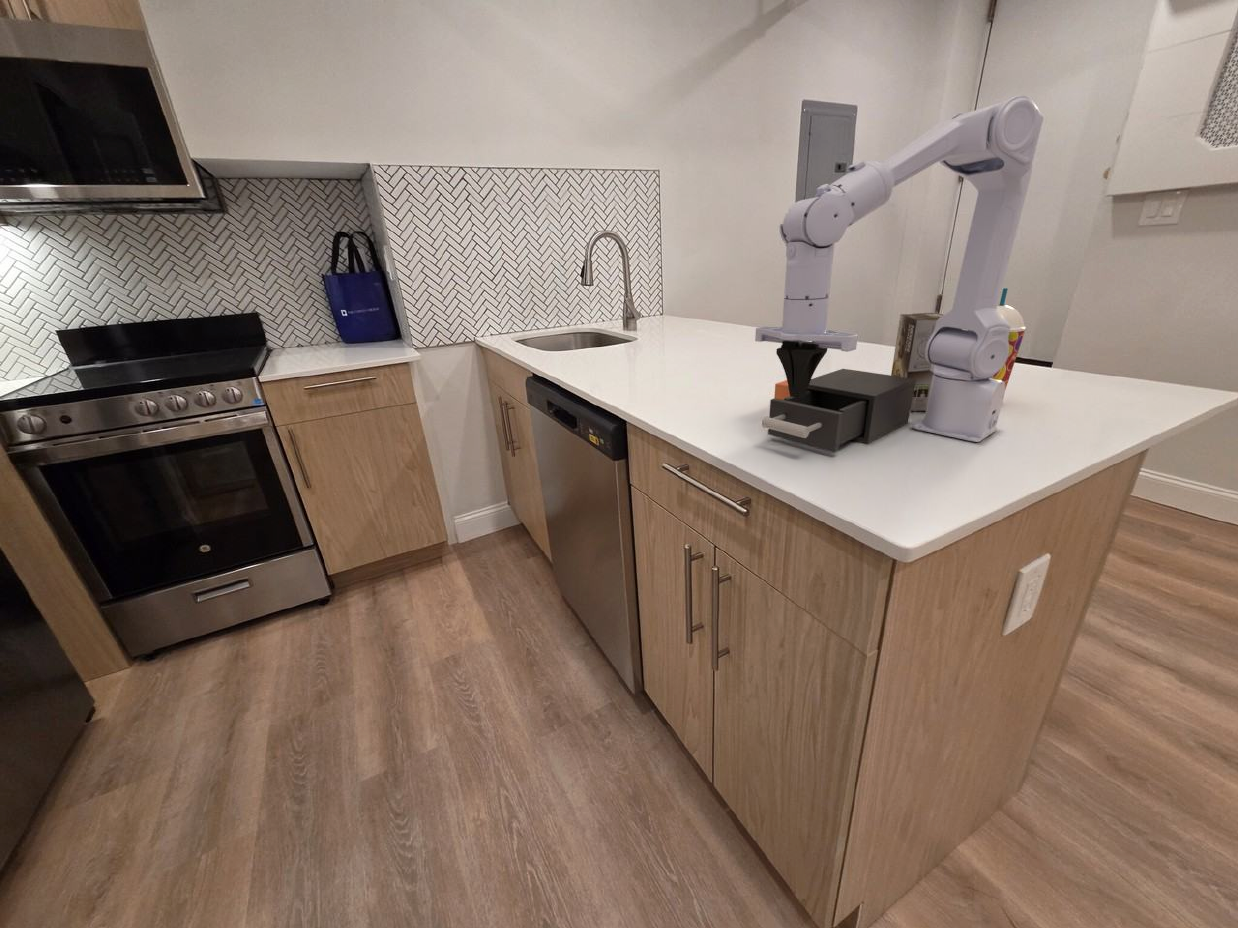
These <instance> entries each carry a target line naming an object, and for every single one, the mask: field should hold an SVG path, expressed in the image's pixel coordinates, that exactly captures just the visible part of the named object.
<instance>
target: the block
mask: <svg viewBox="0 0 1238 928" xmlns="http://www.w3.org/2000/svg"><path fill="white" fill-rule="evenodd" d="M773 397H774V398H776V399H781V400H784V398H787V397H790V393H789V387H788V382H787V379H786V380H783V381H780V382H777V383H775V385H774V396H773ZM774 398H773V399H774Z"/></svg>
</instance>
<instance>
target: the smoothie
mask: <svg viewBox="0 0 1238 928" xmlns="http://www.w3.org/2000/svg"><path fill="white" fill-rule="evenodd" d="M1007 295H1008V288H1007V287H1006V288H1005V287H1002V291H1001V295H1000V299H999V304H998V305H997V309H996V310H997V311H998V313H999V314H1000V315H1001V316H1002V317H1003V318H1004V319H1005V320H1006V321H1007V322H1008V323H1009V325H1010V326H1011V328H1010V331H1009V336H1008V342H1009V355H1008V358H1007V360H1006V362H1005V364H1004V365H1003V367H1002V368H1001V369H1000V370H999V371H998V372H997V373H996V374H994V376H993V378H992V379H995V380H1001V381H1004V382H1005V391H1007V386H1008V383H1009V380H1010V377H1011V375H1012V372H1013V368H1014V365H1015V363H1016V359H1017V356H1018V354H1019V351H1020V348H1021V344H1022V342H1023V339H1024V337H1025V336H1024V335H1025V331H1026V330H1027V326H1026V325H1025V319H1024V317H1023V316H1022V314H1021V313H1020V311H1019V310H1017V309H1016V308H1014V307H1012V306H1010V305H1006V304H1005V301H1006V298H1007ZM967 331H972V330H967ZM973 332H974V331H973Z"/></svg>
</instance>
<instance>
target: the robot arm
mask: <svg viewBox="0 0 1238 928" xmlns="http://www.w3.org/2000/svg"><path fill="white" fill-rule="evenodd" d="M1043 122H1044V116H1043V114H1042V113H1041V111H1040V110H1039V108H1038V106H1037V105H1036V103H1035V102H1034V100H1033V99H1032V98H1031V97H1030V96H1027V95H1023V94H1022V95H1015V96H1012V97H1010V98H1009V99H1006V100H1004V101H1001V102H997V103H994V104H991V105H987V106H985V107H981V108H978V109H975V110H971V111H969V112H964V113H957V114H955V115H952V116H951V117H950V118H948V119H947V120H944V121H942V122H939V123H937V124H935V125H934V126H933V127H932V128H930V129H929V130H927V131H926V132H925V133H923V134H921V135H920V136H919V137H917V138H915V139H914V140H913V141H911V142H910V143H909V144H907V145H906V146H904V147H902V149H900V150H899V151H897V152H895V154H893V155H892V156H890V157H889V158H888V159H886V160H885V161H883V162H882V163H881V162H879V161H877V160H867V161H864V160H860V161H856V162H854V163H852V164H851V165H849V166H848V167H847V170H848V173H846V174H845V175H843V176H841V177H840V178H838V179H837V180H835V181H834V182H831V183H830V184H829V183H825V184H822V185H820V186H819V187H817V188H816V194H815V195H814V197H811V198H805V199H801V200H798V201H795V202H794V203H793V204H792V205H791V206H790V207H789V208H788V211H787V212H786V213H785V215H784V218H783V222H782V223H780V224H779V234H780V238H781V239H782V241H783V242H784V244H785V247H786V250H785V257H786V264H785V279H784V293H783V306H782V307H783V309H782V322H781V326H759V327H756V328H755V335H754V337H755V339H754V341H755V342H760V343H762V342H768V343H777V344H781V345H780V347H778V348H776V351H775V353H776V356H777V357H778V359H779V361H780V363H781V366H782V368H783V370H784V373H785V378H786V380H787V382H788V387H789V393H790V397H795V398H800V397H802V396H805V395H806V392H807V389H808V386H809V383H810V381H811V379H813V376H814V373H815V372H816V369H817V368H818V366H819V365H820V363H821V361H822V360H823V358H824V357H825V356H826V354H827V352H828V349H831V350H840V351H841V352H847V353H848V352H853V351H855V350H857V344H858V336H859V334H857V333H856V334H855V333H848V332H841V331H836V330H831V329H827V323H828V322H827V320H828V310H829V302H830V291H831V282H832V272H833V264H834V263H833V262H834V254H835V253H834V252H835V245H836V244H837V243H838V242H839V241H840V240H841V239H842V238H843V237H844V235H845V233H846V231H847V229H848V228H849V227H851V226H853V225H855V223H857V222H858V221H860V220H862V219H863V218H866V216H868V215H870V214H871V213H873V212H875V211H876V210H878V209H879V208H881V207H883V206H884V205H886V204H887V202H888V201H890V198H891V196H892V192H893V189H894V188H895V187H896V186H898V185H900V184H901V183H904V182H906V181H907V180H909V179H911V178H912V177H914V176H916V175H918V174H919V173H921V172H923V171H924V170H926V169H928V168H930V167H931V166H933V165H935V164H937V163H938V162H939V163H940V164H941V165H942V166H943V167H944V168H946V169H948V170H949V171H951V172H953V173H954V174H956V175H958V176H960V177H961V178H963V179H965V180H966V181H968V182H970V183H971V185H972V186H973V187H974V188H975V189H976V191H977V197H976V201H975V206H974V210H973V213H972V214H973V215H972V219H971V224H970V228H969V232H968V236H967V241H966V246H965V250H964V254H963V259H962V264H961V268H960V271H959V277H958V281H957V284H956V285H957V286H956V289H955V294H954V299H953V302H952V303H953V304H952V308H951V309H950V310H948V311H947V312H946V313H945V314H943V316H942V317H941V318H939V319H938V320H937V321H936V325H935V329H934V332H933V334H932V336H931V337H930V339H929V340H928V342H927V345H926V348H925V357H926V360H927V362H928V363H929V364H930V365H931V368H930V371H932V372H933V376H932V382H931V387H930V392H929V397H928V402H927V407H926V411H925V413H924V417H923V420H921V421H919V422H917V423H916V424H913V425H912V429H914V430H917V431H922V432H926V433H927V432H928V433H932V434H936V435H940V436H946V437H951V438H954V439H960V440H965V441H969V442H974V443H979V442H981V441H983V440H984V439H986V438H987V437H988V436H990V435H992V434H993V433H995V432H996V431H997V430H998V427H997V425H998V421H999V417H1000V413H1001V409H1002V405H1003V400H1004V397H1005V394H1006V393H1005V392H1006V390H1005V382H1004V381H1001V380H995V379H992V378H993V376H994V374H996V373H997V372H998V371H999V370H1000V369H1001V368H1002V367H1003V365H1004V364H1005V362H1006V360H1007V358H1008V355H1009V342H1008V336H1009V331H1010V328H1011V326H1010V325H1009V323H1008V322H1007V321H1006V320H1005V319H1004V318H1003V317H1002V316H1001V315H1000V314H999V313H998V311H997V310H996V309H997V305H999V302H1000V298H1001V294H1002V291H1003V285H1004V281H1005V278H1006V273H1007V270H1008V266H1009V263H1010V257H1011V254H1012V251H1013V247H1014V243H1015V238H1016V235H1017V231H1018V227H1019V224H1020V220H1021V217H1022V211H1023V208H1024V204H1025V201H1026V196H1027V193H1028V188H1029V184H1030V180H1031V177H1032V172H1033V161H1034V157H1035V153H1036V149H1037V145H1038V142H1039V137H1040V133H1041V130H1042V126H1043ZM968 330H972V331H968ZM973 331H974V332H973Z"/></svg>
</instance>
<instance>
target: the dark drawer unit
mask: <svg viewBox="0 0 1238 928" xmlns="http://www.w3.org/2000/svg"><path fill="white" fill-rule="evenodd" d="M915 382H916V379H912V378H905V377H898V376H891V374H884V373H876V372H871V371H870V372H869V371H862V370H856V369H849V368H841V369H838V370H837V369H836V370H835V371H831V372H829V373H825V374H823V375H820V376H816V377H812V378H811V381H810V383H809V386H808V389H807V390H816V391H821V392H827V393H832V394H838V395H843V396H849V397H854V398H859V399H865V400H869V405H868V412H867V419H866V425H865V432H864V433H863V434H861V435H859V436H857V437H855V438H853V439H851V440H850V441H853V442H854V441H855V442H858V443H863V444H867V445H868V444H871V443H873V442H875V441H877V440H878V439H880V438H882V437H884V436H886V435H888V434H890V433H892V432H894V431H896V430H898V429H900V428H902V427H904V426H905V425H907V424H909V421H910V416H911V415H910V414H911V411H910V410H911V404H912V399H913V393H914V388H915Z"/></svg>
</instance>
